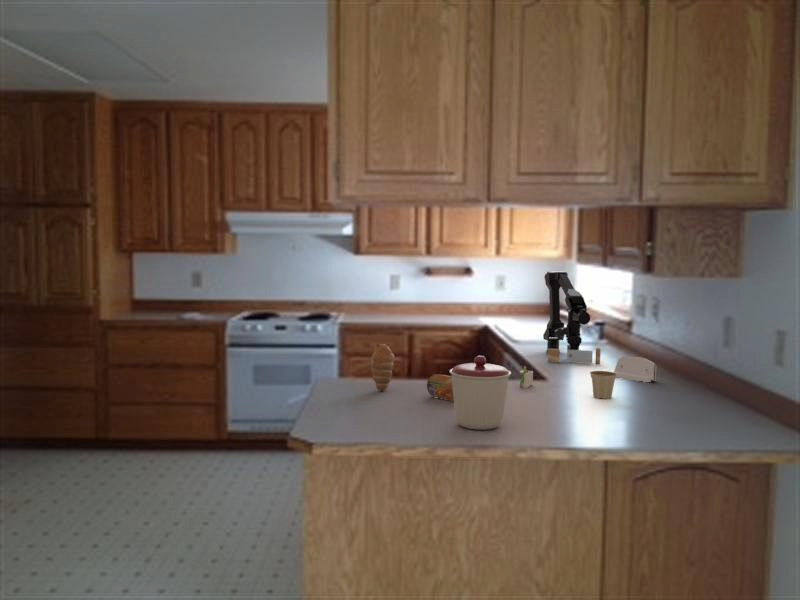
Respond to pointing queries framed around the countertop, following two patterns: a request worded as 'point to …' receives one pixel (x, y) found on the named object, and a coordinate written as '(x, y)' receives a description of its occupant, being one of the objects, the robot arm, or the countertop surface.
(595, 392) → the flower pot
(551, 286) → the robot arm
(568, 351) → the door
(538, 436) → the countertop surface
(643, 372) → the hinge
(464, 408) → the canister
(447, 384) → the tin
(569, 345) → the block
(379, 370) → the croissant
